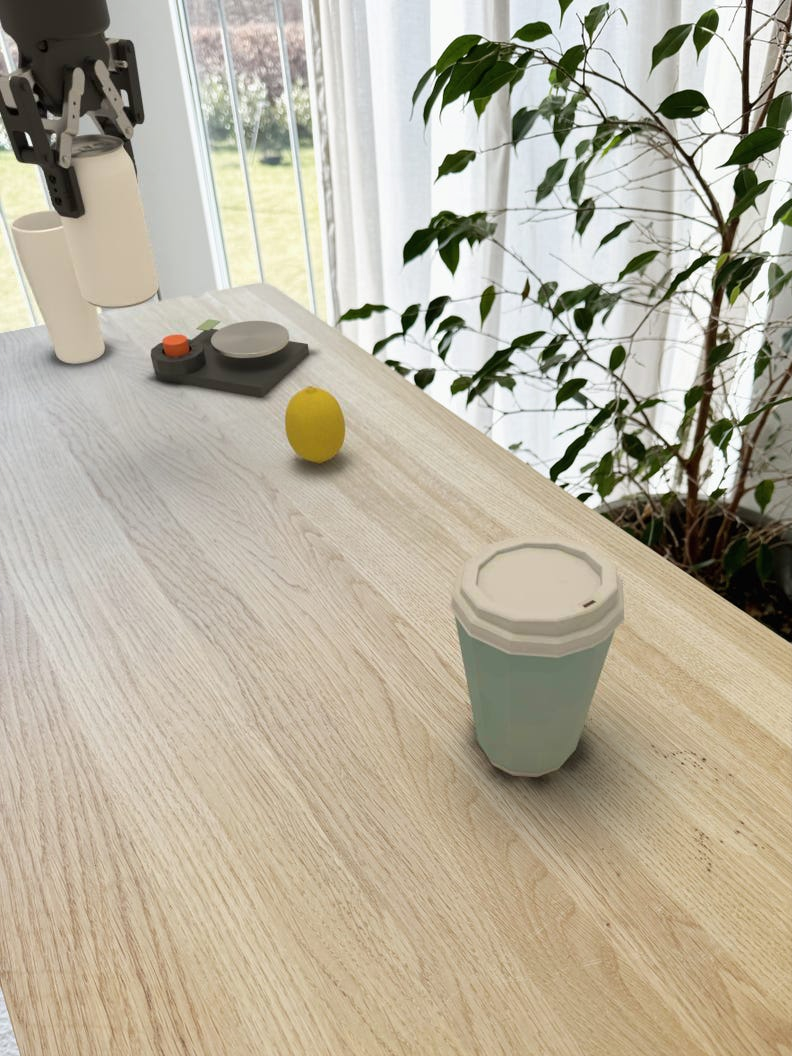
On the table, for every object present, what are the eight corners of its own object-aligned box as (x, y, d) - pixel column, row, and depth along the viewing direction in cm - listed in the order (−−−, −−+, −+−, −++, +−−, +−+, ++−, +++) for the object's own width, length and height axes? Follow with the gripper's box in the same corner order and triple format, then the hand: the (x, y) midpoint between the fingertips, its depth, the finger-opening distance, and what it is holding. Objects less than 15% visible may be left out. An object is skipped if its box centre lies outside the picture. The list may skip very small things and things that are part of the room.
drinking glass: (38, 365, 112) (-5, 228, 102) (71, 339, 117) (32, 206, 107) (93, 371, 111) (54, 234, 101) (123, 345, 116) (89, 211, 106)
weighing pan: (172, 347, 109) (170, 343, 108) (212, 316, 115) (211, 312, 114) (266, 363, 106) (265, 358, 106) (302, 330, 112) (302, 326, 111)
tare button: (160, 356, 108) (157, 342, 107) (173, 346, 110) (170, 332, 109) (181, 359, 107) (178, 346, 106) (194, 349, 109) (191, 336, 108)
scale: (146, 382, 109) (140, 356, 107) (203, 338, 117) (199, 313, 115) (258, 402, 106) (254, 376, 104) (309, 355, 114) (306, 330, 112)
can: (68, 293, 86) (27, 143, 78) (136, 273, 90) (103, 127, 82) (105, 317, 83) (66, 162, 75) (174, 295, 86) (144, 145, 78)
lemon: (283, 457, 97) (271, 381, 92) (336, 443, 99) (328, 368, 94) (302, 484, 94) (291, 407, 88) (357, 469, 96) (350, 393, 90)
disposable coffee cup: (421, 736, 70) (411, 563, 60) (536, 667, 75) (544, 498, 65) (524, 830, 64) (531, 654, 54) (641, 748, 69) (667, 574, 59)
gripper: (61, -63, 76) (113, 170, 87) (-79, -34, 66) (1, 225, 77) (145, -58, 74) (188, 180, 85) (14, -27, 64) (82, 238, 75)
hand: (99, 201), depth 81 cm, fingers closed on can, 6 cm apart
